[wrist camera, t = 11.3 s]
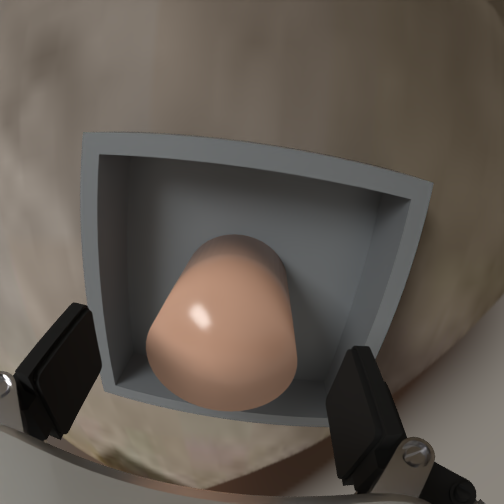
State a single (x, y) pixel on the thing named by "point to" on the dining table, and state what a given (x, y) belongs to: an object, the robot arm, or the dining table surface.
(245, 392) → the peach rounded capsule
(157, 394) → the bin
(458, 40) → the dining table surface
